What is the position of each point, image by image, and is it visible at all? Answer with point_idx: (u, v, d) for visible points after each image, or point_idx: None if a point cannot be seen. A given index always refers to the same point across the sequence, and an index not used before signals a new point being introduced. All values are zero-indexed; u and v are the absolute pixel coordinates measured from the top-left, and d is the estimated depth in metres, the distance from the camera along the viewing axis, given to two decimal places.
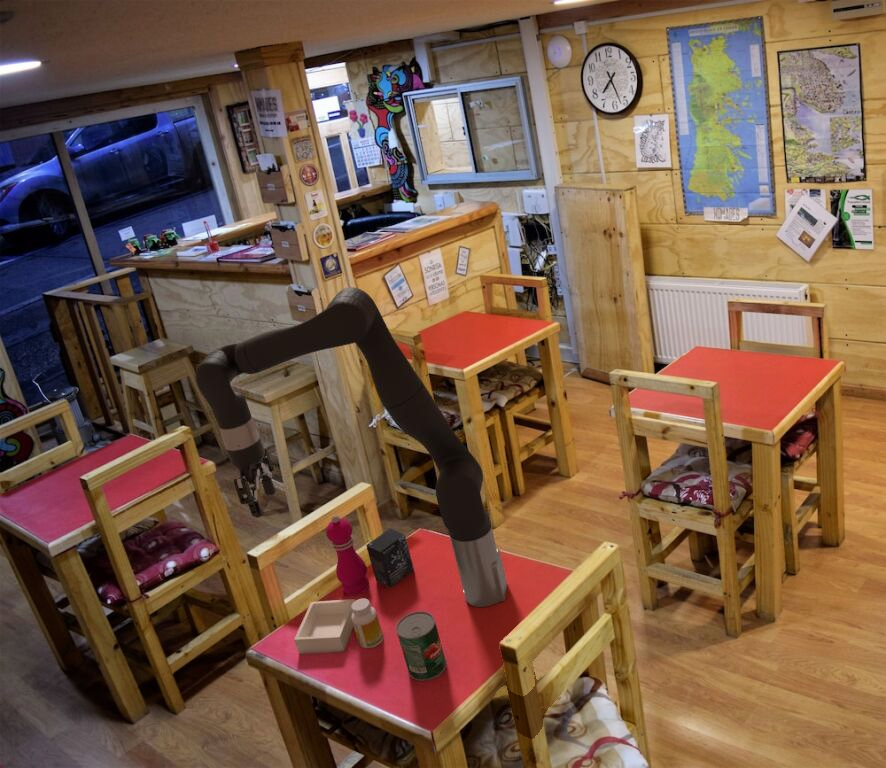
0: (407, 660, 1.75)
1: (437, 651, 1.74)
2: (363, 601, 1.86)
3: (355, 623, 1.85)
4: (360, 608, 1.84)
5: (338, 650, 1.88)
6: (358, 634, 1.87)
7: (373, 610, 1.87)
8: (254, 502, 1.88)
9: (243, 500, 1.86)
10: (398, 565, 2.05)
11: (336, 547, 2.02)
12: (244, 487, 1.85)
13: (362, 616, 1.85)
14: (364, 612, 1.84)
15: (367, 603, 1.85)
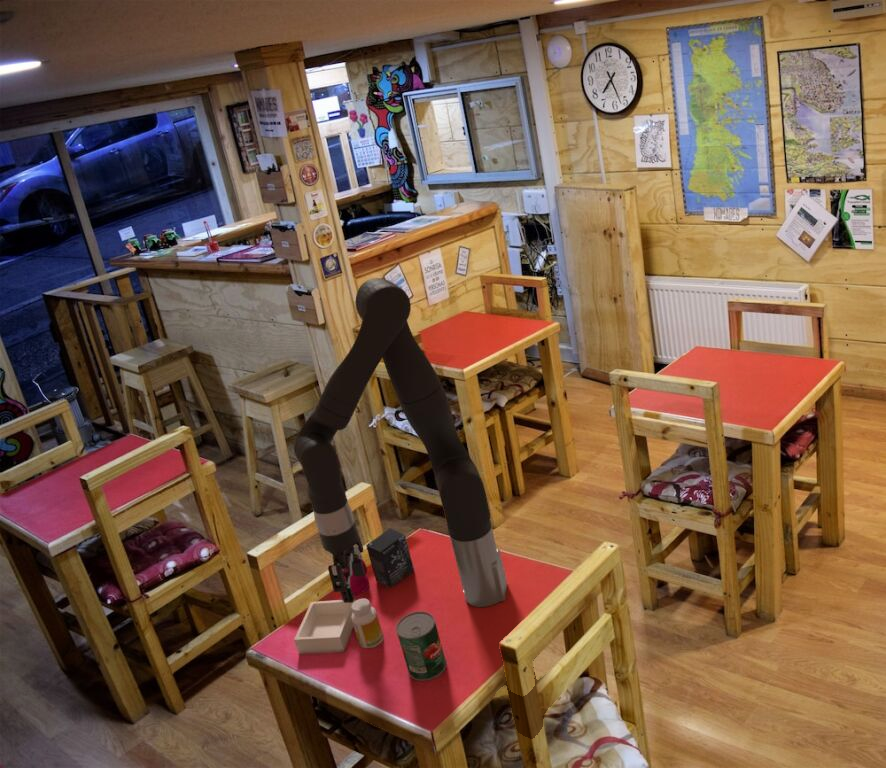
0: (407, 660, 1.75)
1: (437, 651, 1.74)
2: (363, 601, 1.86)
3: (355, 623, 1.85)
4: (360, 608, 1.84)
5: (338, 650, 1.88)
6: (358, 634, 1.87)
7: (373, 610, 1.87)
8: (347, 589, 1.78)
9: (337, 588, 1.76)
10: (398, 565, 2.05)
11: None
12: (339, 575, 1.75)
13: (362, 616, 1.85)
14: (364, 612, 1.84)
15: (367, 603, 1.85)
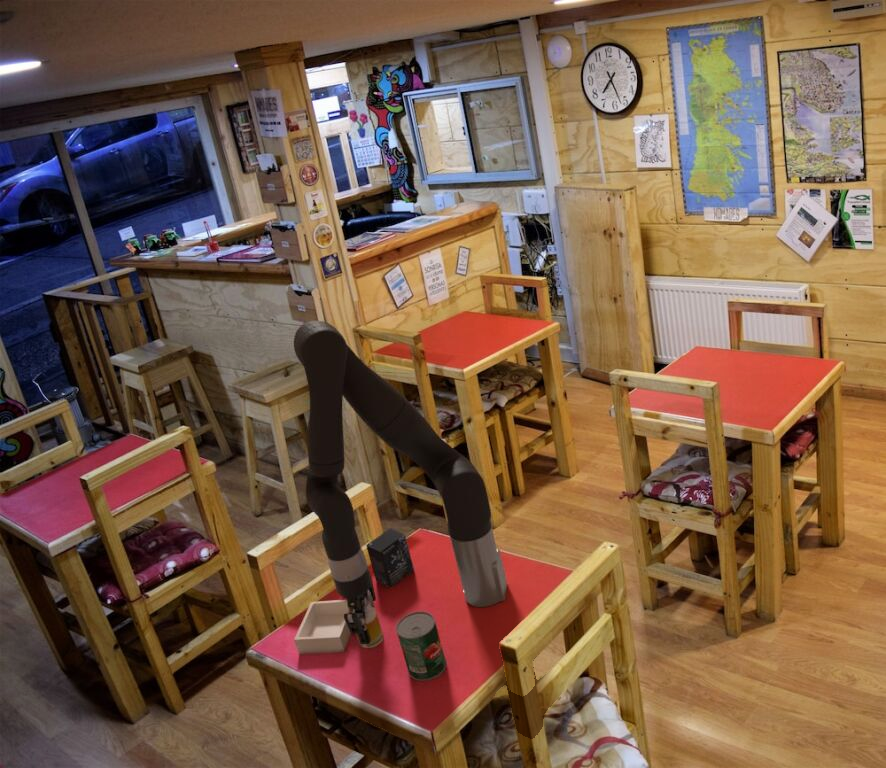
0: (407, 660, 1.75)
1: (437, 651, 1.74)
2: None
3: None
4: None
5: (338, 650, 1.88)
6: None
7: (373, 610, 1.87)
8: (364, 630, 1.84)
9: (354, 631, 1.82)
10: (398, 565, 2.05)
11: None
12: (355, 622, 1.80)
13: None
14: None
15: (367, 603, 1.85)
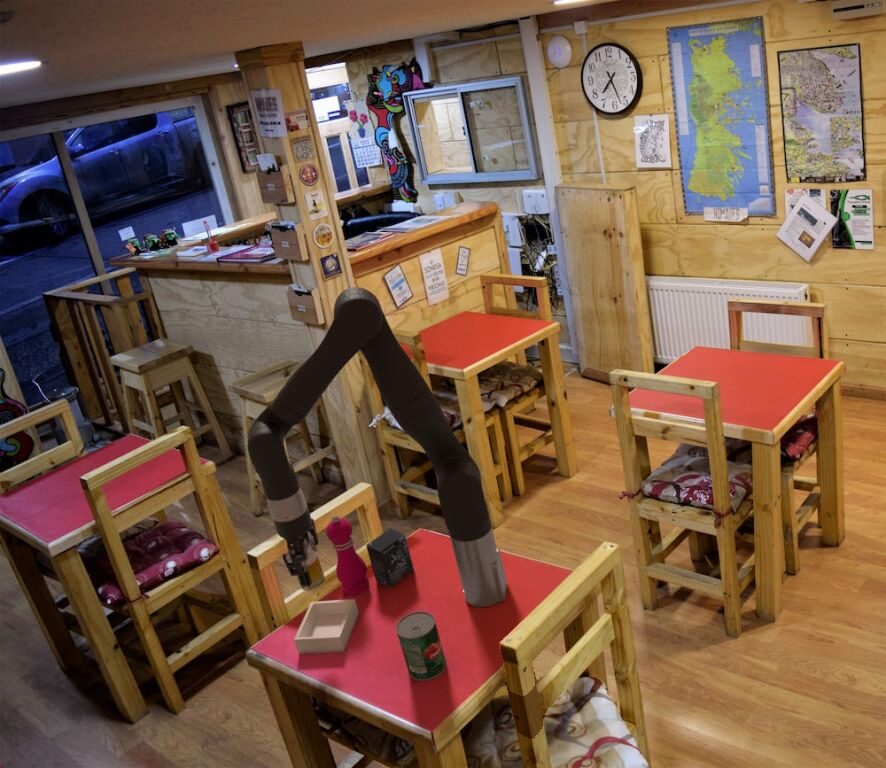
0: (407, 660, 1.75)
1: (437, 651, 1.74)
2: None
3: None
4: None
5: (338, 650, 1.88)
6: None
7: (314, 553, 1.86)
8: (304, 572, 1.84)
9: (293, 572, 1.82)
10: (398, 565, 2.05)
11: (336, 547, 2.02)
12: (294, 562, 1.79)
13: None
14: None
15: (308, 545, 1.85)
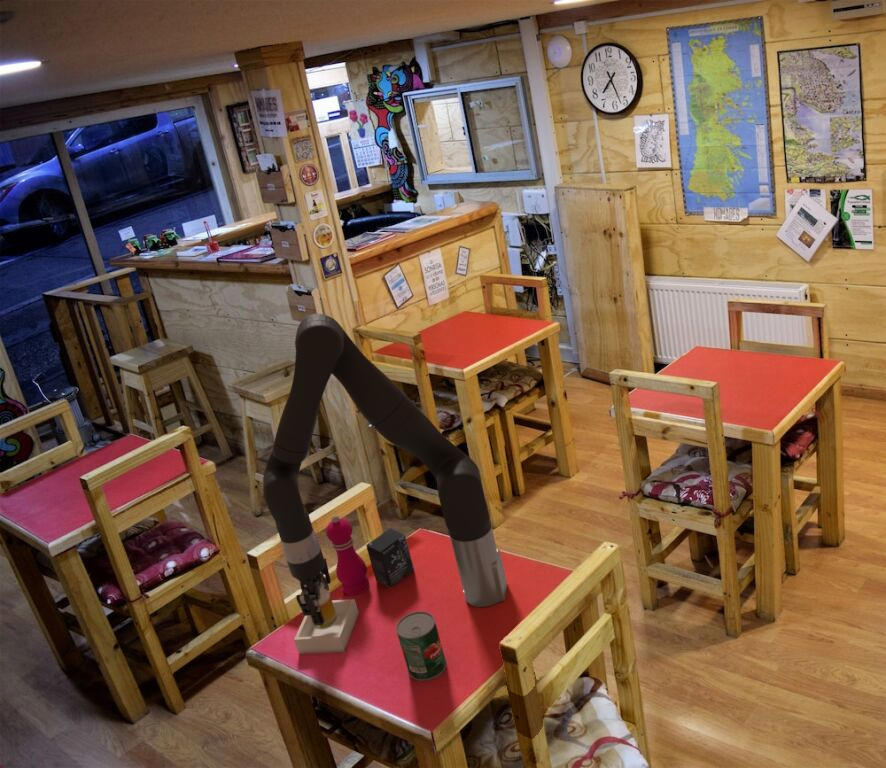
0: (407, 660, 1.75)
1: (437, 651, 1.74)
2: None
3: None
4: None
5: (338, 650, 1.88)
6: None
7: (326, 592, 1.91)
8: (317, 612, 1.88)
9: (307, 612, 1.86)
10: (398, 565, 2.05)
11: (336, 547, 2.02)
12: (307, 603, 1.84)
13: None
14: None
15: (320, 585, 1.89)
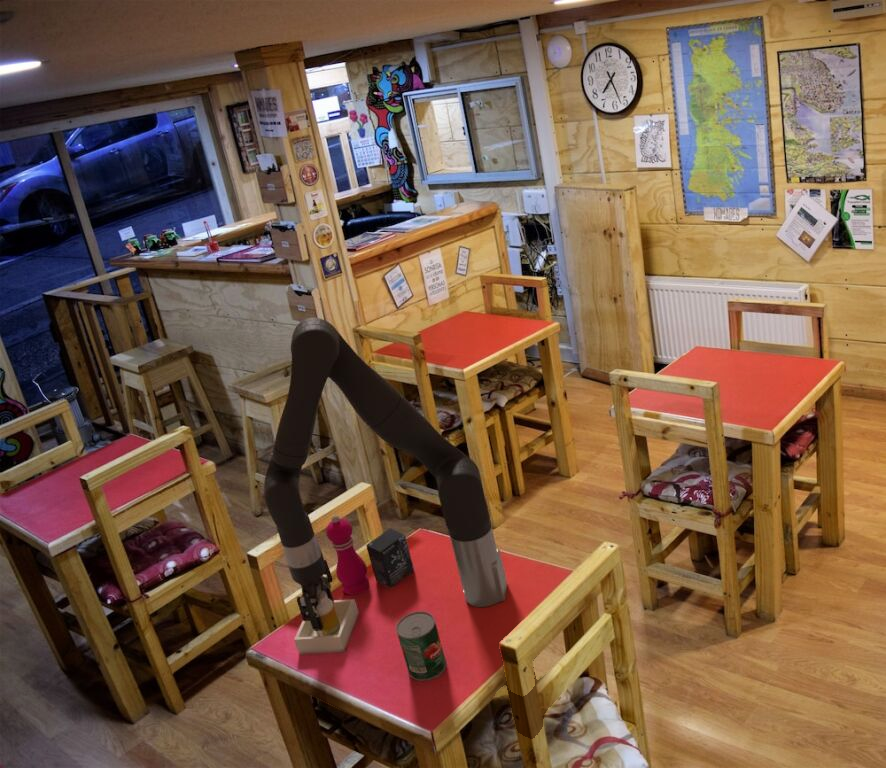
0: (407, 660, 1.75)
1: (437, 651, 1.74)
2: None
3: None
4: None
5: (338, 650, 1.88)
6: None
7: (330, 602, 1.91)
8: (316, 618, 1.87)
9: (306, 617, 1.85)
10: (398, 565, 2.05)
11: (336, 547, 2.02)
12: (307, 605, 1.83)
13: (319, 607, 1.90)
14: (321, 603, 1.89)
15: (324, 595, 1.90)
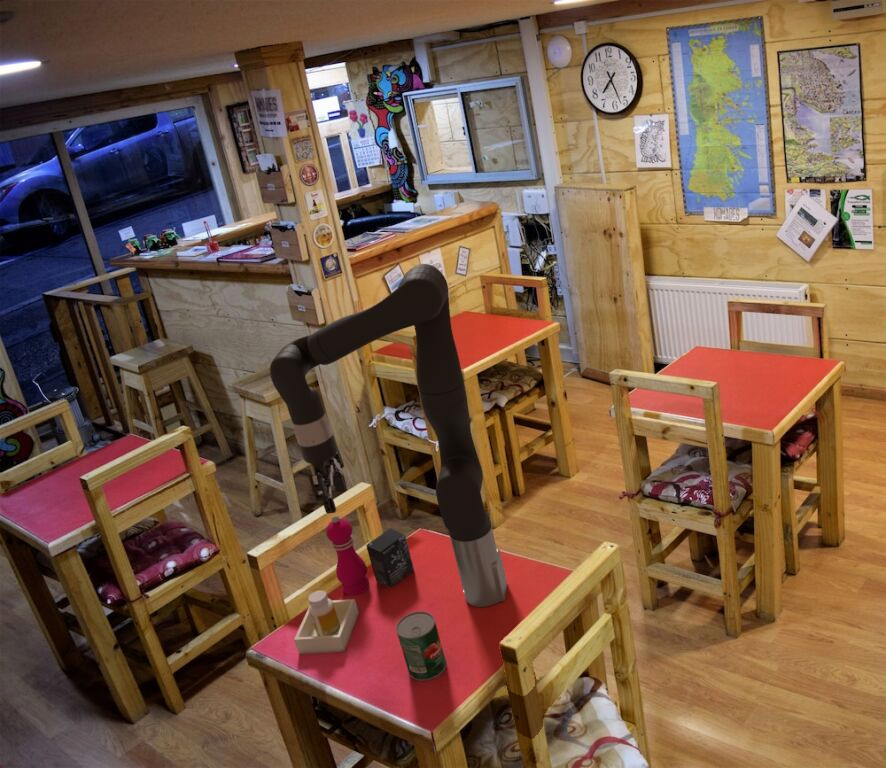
0: (407, 660, 1.75)
1: (437, 651, 1.74)
2: (320, 593, 1.91)
3: (312, 614, 1.90)
4: (317, 600, 1.89)
5: (338, 650, 1.88)
6: (315, 625, 1.91)
7: (330, 602, 1.92)
8: (329, 499, 1.85)
9: (318, 497, 1.83)
10: (398, 565, 2.05)
11: (336, 547, 2.02)
12: (320, 483, 1.81)
13: (319, 607, 1.90)
14: (321, 603, 1.89)
15: (324, 595, 1.90)
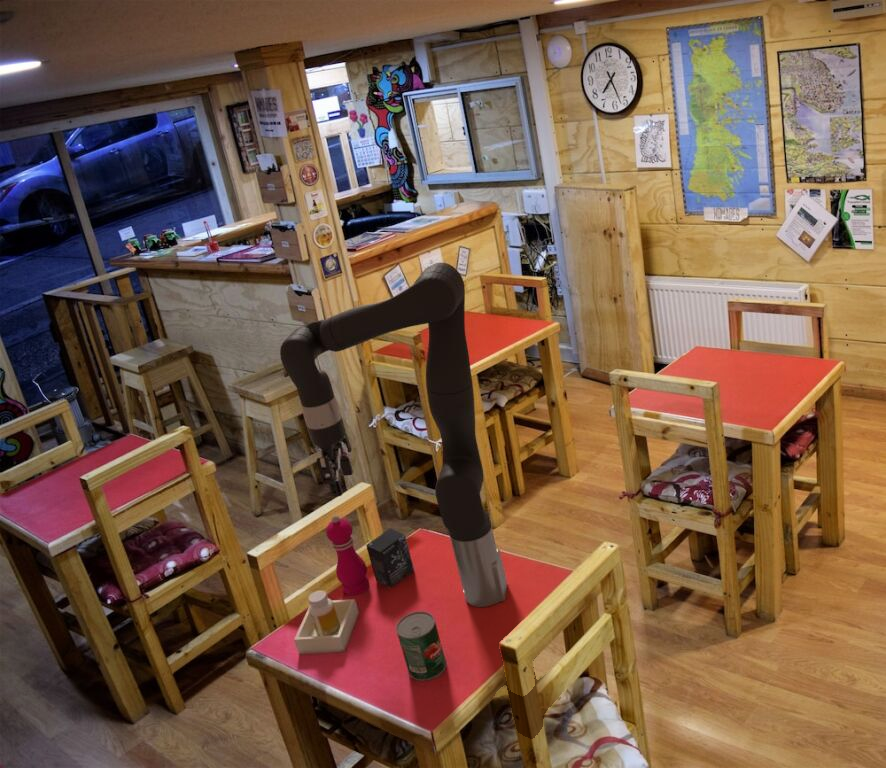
0: (407, 660, 1.75)
1: (437, 651, 1.74)
2: (320, 593, 1.91)
3: (312, 614, 1.90)
4: (317, 599, 1.89)
5: (338, 650, 1.88)
6: (315, 625, 1.91)
7: (330, 602, 1.92)
8: (335, 482, 1.86)
9: (325, 480, 1.83)
10: (398, 565, 2.05)
11: (336, 547, 2.02)
12: (327, 466, 1.82)
13: (319, 607, 1.90)
14: (321, 603, 1.89)
15: (324, 595, 1.90)
